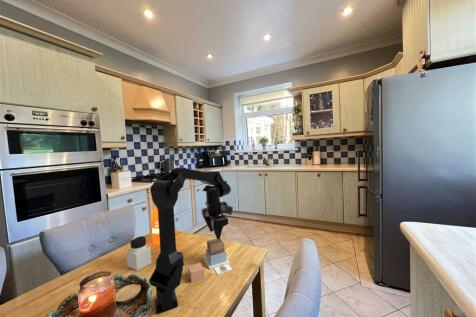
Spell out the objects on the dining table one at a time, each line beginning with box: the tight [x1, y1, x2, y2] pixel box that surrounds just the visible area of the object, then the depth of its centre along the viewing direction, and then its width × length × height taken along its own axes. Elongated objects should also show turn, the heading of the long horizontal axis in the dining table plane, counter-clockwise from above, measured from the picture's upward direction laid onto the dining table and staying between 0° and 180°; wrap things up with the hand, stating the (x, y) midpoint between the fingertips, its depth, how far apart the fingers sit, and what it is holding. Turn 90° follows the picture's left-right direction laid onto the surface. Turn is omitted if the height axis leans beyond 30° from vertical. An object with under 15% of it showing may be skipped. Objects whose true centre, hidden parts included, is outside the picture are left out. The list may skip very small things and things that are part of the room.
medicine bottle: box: [126, 235, 153, 272], centre depth 89 cm, size 7×7×12 cm
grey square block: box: [203, 248, 231, 270], centre depth 89 cm, size 9×9×5 cm
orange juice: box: [150, 204, 160, 246], centre depth 111 cm, size 8×9×20 cm
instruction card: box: [213, 264, 233, 275], centre depth 83 cm, size 4×6×1 cm
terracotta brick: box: [187, 262, 205, 283], centre depth 79 cm, size 5×5×4 cm
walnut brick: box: [206, 238, 226, 256], centre depth 89 cm, size 6×6×4 cm
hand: (214, 235), depth 89 cm, fingers open, 9 cm apart
